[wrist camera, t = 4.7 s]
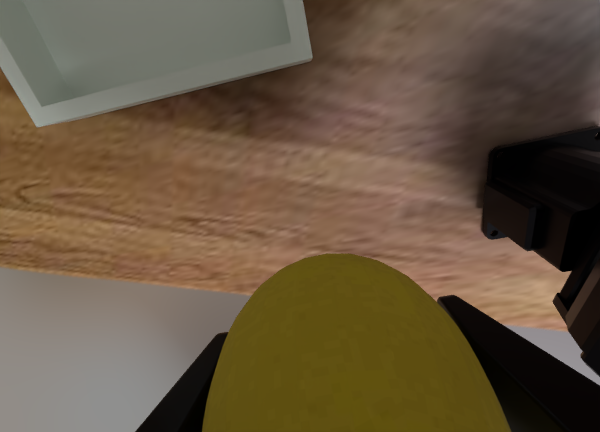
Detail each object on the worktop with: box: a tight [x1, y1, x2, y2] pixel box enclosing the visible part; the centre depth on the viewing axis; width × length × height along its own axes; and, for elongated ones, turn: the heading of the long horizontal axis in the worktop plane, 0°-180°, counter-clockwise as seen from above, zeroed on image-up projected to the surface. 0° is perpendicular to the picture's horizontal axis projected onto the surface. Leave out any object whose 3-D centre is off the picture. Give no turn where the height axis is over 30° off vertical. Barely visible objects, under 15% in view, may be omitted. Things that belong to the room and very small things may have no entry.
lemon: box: [202, 254, 511, 432], centre depth 6 cm, size 6×6×8 cm
